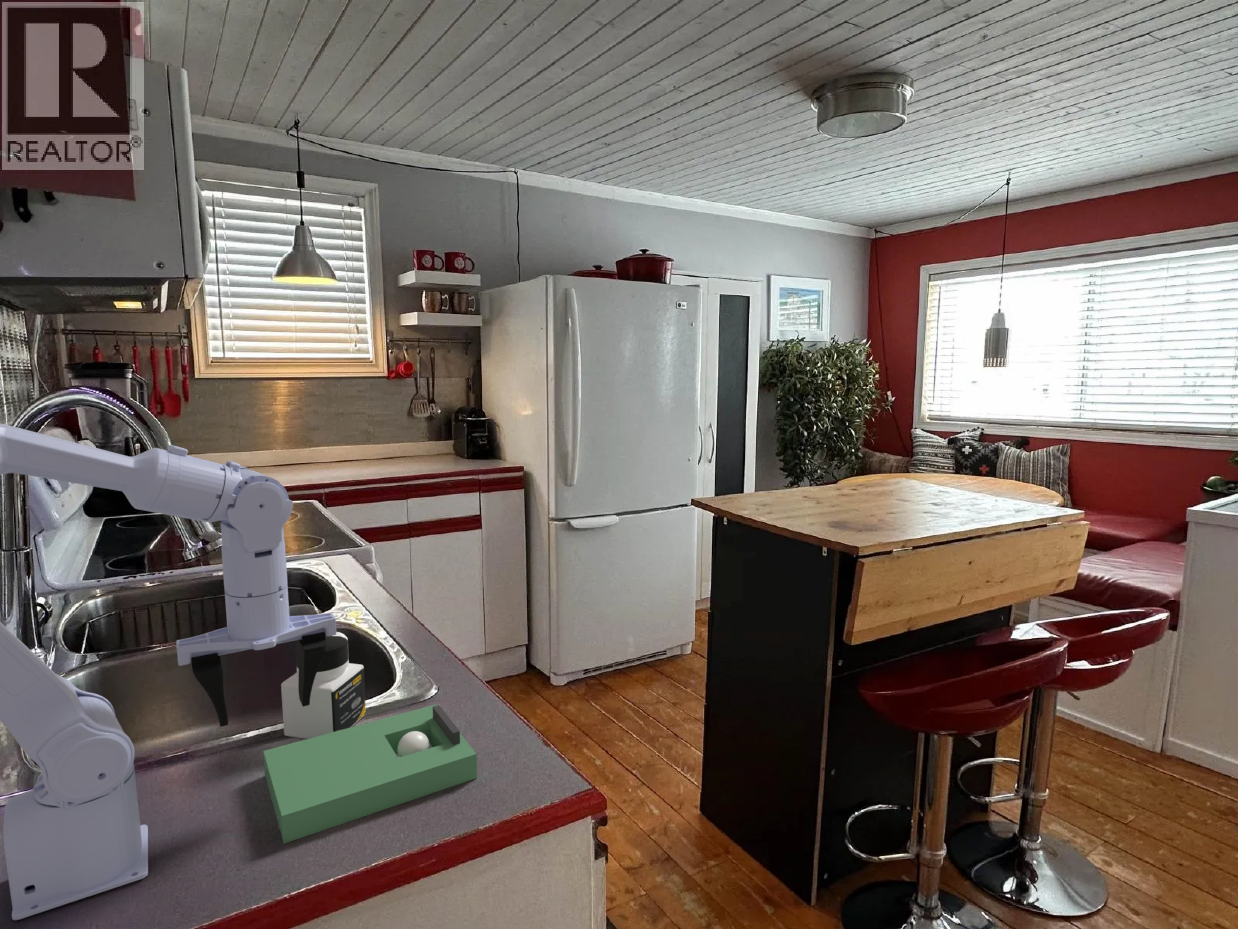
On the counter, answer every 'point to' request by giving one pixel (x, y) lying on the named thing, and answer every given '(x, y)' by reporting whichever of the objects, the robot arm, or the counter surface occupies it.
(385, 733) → the green pocketed block
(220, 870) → the counter surface
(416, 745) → the ball
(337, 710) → the medicine bottle
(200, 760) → the counter surface
